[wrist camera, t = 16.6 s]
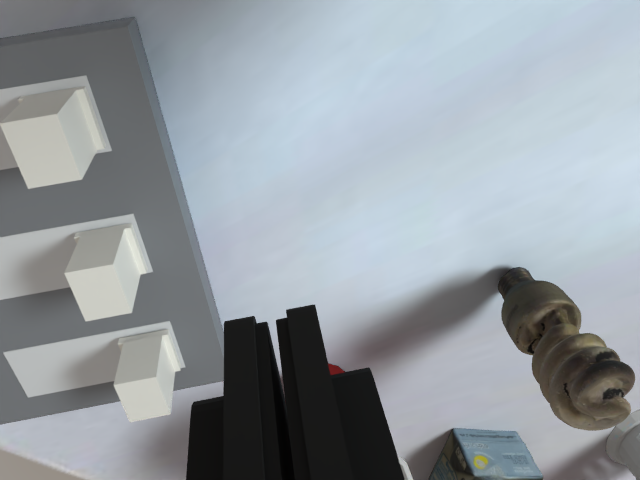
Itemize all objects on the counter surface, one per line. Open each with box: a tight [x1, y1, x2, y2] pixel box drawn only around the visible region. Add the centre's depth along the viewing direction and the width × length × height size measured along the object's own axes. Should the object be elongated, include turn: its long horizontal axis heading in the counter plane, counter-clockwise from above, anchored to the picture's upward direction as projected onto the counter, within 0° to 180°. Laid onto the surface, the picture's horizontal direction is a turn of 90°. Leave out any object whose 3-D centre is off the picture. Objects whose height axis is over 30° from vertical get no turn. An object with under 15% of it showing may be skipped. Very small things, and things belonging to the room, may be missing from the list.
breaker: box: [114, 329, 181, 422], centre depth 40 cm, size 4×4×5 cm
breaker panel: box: [0, 17, 224, 425], centre depth 39 cm, size 27×18×3 cm, turn 7°
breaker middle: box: [64, 223, 148, 321], centre depth 36 cm, size 4×4×5 cm
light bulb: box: [498, 267, 635, 430], centre depth 42 cm, size 6×6×15 cm
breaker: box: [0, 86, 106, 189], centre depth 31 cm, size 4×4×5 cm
